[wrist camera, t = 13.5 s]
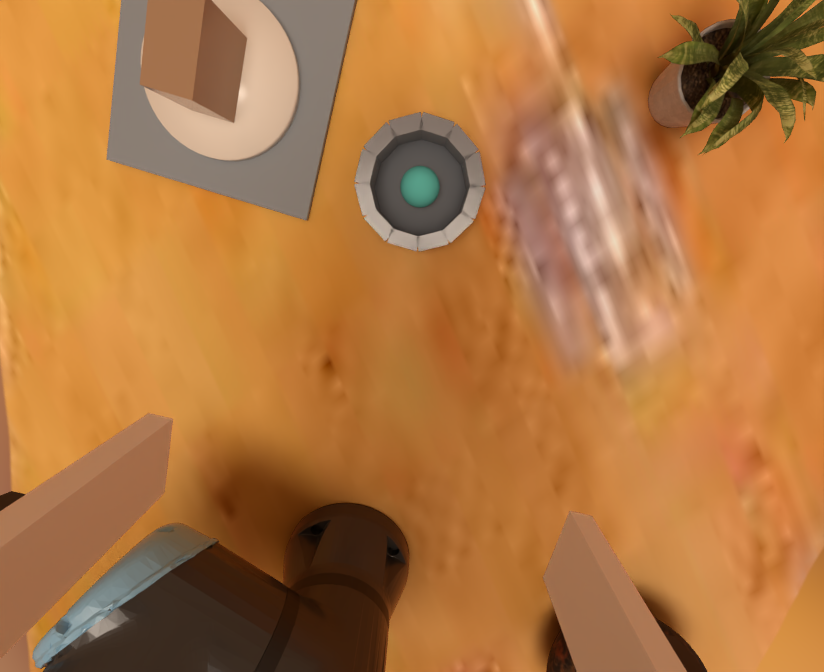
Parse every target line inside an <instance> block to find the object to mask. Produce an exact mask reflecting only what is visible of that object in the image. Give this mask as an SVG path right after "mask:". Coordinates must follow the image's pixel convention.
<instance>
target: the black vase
mask: <svg viewBox="0 0 824 672" xmlns="http://www.w3.org/2000/svg"><path fill="white" fill-rule="evenodd" d="M654 619H655V620H656V622H657V623H658V625H659V627H660V628H661V630H662V632H663V633H664V634H666V635H670V636H675V637H676V638H677V639H678V640H679V641H680V642H681V643H682V644H683V645H684V646H685V647H686V648H687V649H688V650H689V652H690V653H691V654H692V655H693V656H694V657H695V658H696V659H697V661H698V662H699V664H700V665H701V667H702V668H703V670H704V671H705V672H707V670H706V668H705V666H704V665H703V663H702V661H701V660H700V658H699V657H698V655H697V654H696V653H695V651H694V650H693V649H692V648H691V647H690V645H689V644H688V643H687V642H686V641H685V640H684V639H683V638H682V637H681V636H680V635H679V634H678V633H676V632H675V631H674V630H672V629H671V628H670V627H669V626H667V625H666V624H664V623H662V622H661V621H659V620H657V619H656V618H654ZM547 672H577V671H576V668H575V666H574V663H573V660H572V657H571V654H570V652H569V649H568V646H567V643H566V640H565V638H564V635H563V632H562V630H561V631H560V633H559V634H558V636H557V637H556V639H555V641H554V643H553V645H552V648H551V651H550V654H549V658H548V663H547Z"/></svg>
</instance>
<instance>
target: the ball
mask: <svg viewBox="0 0 824 672" xmlns="http://www.w3.org/2000/svg"><path fill="white" fill-rule="evenodd" d="M439 189H440V184H439V180H438V177H437V175H436V174H435V172H434V171H433V170H431V169H430V168H428V167H425V166H415V167H412V168H410V169H409V170H408V171H407V172H406V173H405V174H404V175H403V177H402V180H401V184H400V190H401V194H402V196H403V198H404V200H405V201H406V202H407V203H408V204H410V205H411V206H414V207H418V208H422V207H426V206H428V205H430V204H432V203H433V202H434V201H435V199H436V198H437V196H438V194H439Z"/></svg>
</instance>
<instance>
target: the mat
mask: <svg viewBox="0 0 824 672" xmlns="http://www.w3.org/2000/svg"><path fill="white" fill-rule="evenodd" d="M259 1H260V2H262V3H263V4H264V5H265V6H266V7H267V8H268V9H269V10H270V11H271V13H272V14H273V15H274V16H275V18H276V19H277V20H278V22H279V23H280V24H281V26H282V27H283V29H284V31H285V32H286V34H287V35H288V37H289V39H290V42H291V44H292V46H293V48H294V51H295V54H296V57H297V61H298V66H299V72H300V97H299V104H298V108H297V112H296V114H295V117H294V120H293V122H292V124H291V126H290V128H289V129H288V131H287V132H286V134H285V135H284V137H283V138H282V139H281V140H280V141H279V142H278V143H277V144H276V145H275V146H274V147H273V148H271V149H270V150H269V151H267V152H265V153H264V154H262V155H260V156H258V157H255V158H252V159H248V160H244V161H222V160H217V159H213V158H210V157H207V156H204V155H202V154H199V153H197V152H195V151H193V150H191V149H189V148H187V147H186V146H184V145H183V144H181V143H180V142H179V141H178V140H177V139H175V138H174V137H173V136H172V135H171V134H170V133H169V132H168V131H167V130H166V128H165V127H164V126H163V125H162V123H161V122H160V121H159V119H158V118H157V116H156V114H155V113H154V111H153V109H152V107H151V105H150V102H149V100H148V98H147V95H146V92H145V88H144V87H143V86H141V85H140V75H141V48H142V42H143V38H144V33H145V23H146V12H147V2H148V0H121V10H120V21H119V32H118V42H117V53H116V64H115V75H114V86H113V96H112V107H111V118H110V129H109V140H108V150H107V160H110V161H114V162H117V163H120V164H123V165H127V166H130V167H133V168H137V169H140V170H143V171H146V172H150V173H153V174H156V175H159V176H163V177H166V178H169V179H173V180H176V181H179V182H182V183H186V184H189V185H192V186H195V187H199V188H202V189H205V190H209V191H212V192H215V193H218V194H222V195H225V196H228V197H231V198H235V199H238V200H241V201H245V202H248V203H251V204H254V205H258V206H261V207H264V208H267V209H271V210H274V211H277V212H281V213H284V214H287V215H290V216H294V217H297V218H300V219H304V220H308V218H309V214H310V209H311V205H312V200H313V196H314V191H315V187H316V182H317V177H318V173H319V168H320V164H321V159H322V155H323V150H324V146H325V141H326V137H327V132H328V128H329V123H330V119H331V114H332V110H333V105H334V101H335V96H336V92H337V87H338V83H339V78H340V74H341V69H342V65H343V60H344V56H345V51H346V47H347V42H348V38H349V33H350V29H351V24H352V20H353V15H354V11H355V6H356V2H357V0H259Z"/></svg>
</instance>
